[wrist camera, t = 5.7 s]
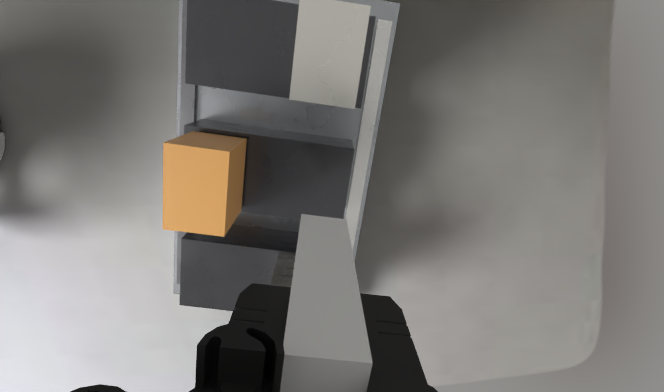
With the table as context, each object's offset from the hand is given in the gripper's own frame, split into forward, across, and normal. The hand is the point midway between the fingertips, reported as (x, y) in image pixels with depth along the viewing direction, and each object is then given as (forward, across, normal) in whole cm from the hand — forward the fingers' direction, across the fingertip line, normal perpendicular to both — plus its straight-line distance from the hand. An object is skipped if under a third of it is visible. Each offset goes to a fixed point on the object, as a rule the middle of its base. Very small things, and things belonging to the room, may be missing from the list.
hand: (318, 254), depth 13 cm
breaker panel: (+14, -3, 0) cm, 14 cm away
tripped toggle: (+8, -5, 0) cm, 10 cm away
